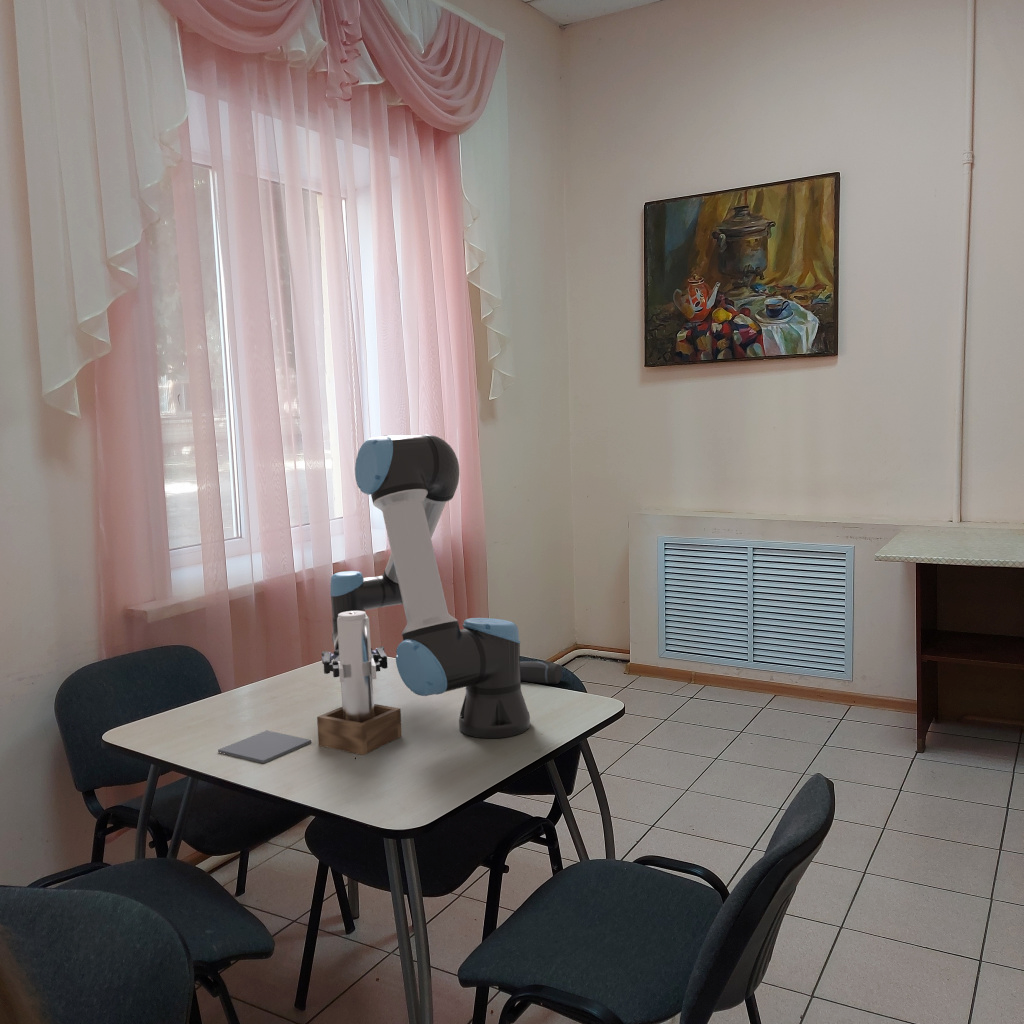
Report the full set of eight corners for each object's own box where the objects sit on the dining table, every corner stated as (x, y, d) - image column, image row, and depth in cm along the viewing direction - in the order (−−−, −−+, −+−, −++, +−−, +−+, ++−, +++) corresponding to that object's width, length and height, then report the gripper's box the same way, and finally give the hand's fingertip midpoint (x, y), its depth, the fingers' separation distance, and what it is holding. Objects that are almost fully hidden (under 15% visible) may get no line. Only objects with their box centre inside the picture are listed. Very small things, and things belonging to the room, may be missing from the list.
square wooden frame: (401, 736, 191) (400, 708, 190) (363, 755, 181) (361, 725, 180) (358, 728, 197) (356, 700, 197) (318, 745, 187) (317, 716, 187)
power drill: (539, 699, 215) (463, 692, 223) (566, 678, 232) (495, 672, 240) (538, 677, 214) (462, 670, 223) (566, 657, 231) (494, 652, 240)
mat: (311, 742, 189) (311, 739, 189) (263, 763, 178) (263, 760, 178) (266, 733, 196) (266, 730, 196) (218, 752, 185) (218, 749, 185)
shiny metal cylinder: (369, 737, 185) (361, 615, 183) (339, 736, 186) (331, 615, 184) (380, 727, 191) (373, 609, 189) (350, 726, 193) (343, 609, 190)
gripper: (394, 660, 208) (405, 687, 185) (310, 668, 204) (311, 697, 181) (392, 628, 207) (404, 651, 184) (308, 635, 203) (309, 659, 180)
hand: (358, 673), depth 183 cm, fingers closed on shiny metal cylinder, 6 cm apart
